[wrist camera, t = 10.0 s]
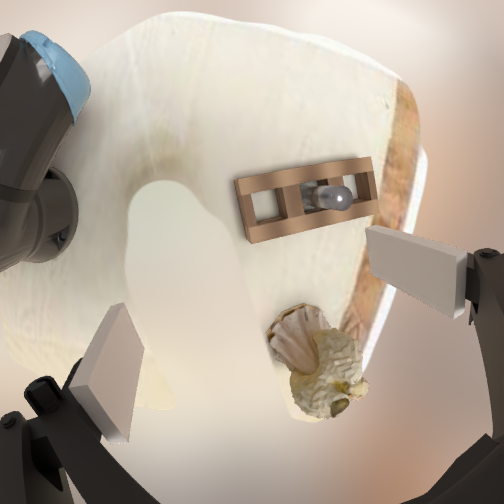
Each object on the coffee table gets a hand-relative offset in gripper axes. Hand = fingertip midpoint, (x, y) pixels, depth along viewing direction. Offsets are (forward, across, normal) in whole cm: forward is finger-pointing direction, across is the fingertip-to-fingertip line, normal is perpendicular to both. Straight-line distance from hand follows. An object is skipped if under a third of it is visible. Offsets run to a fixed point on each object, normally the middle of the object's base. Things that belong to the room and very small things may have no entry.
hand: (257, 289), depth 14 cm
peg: (+29, +15, 0) cm, 33 cm away
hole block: (+29, +15, 0) cm, 33 cm away
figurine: (+29, +9, -23) cm, 38 cm away
